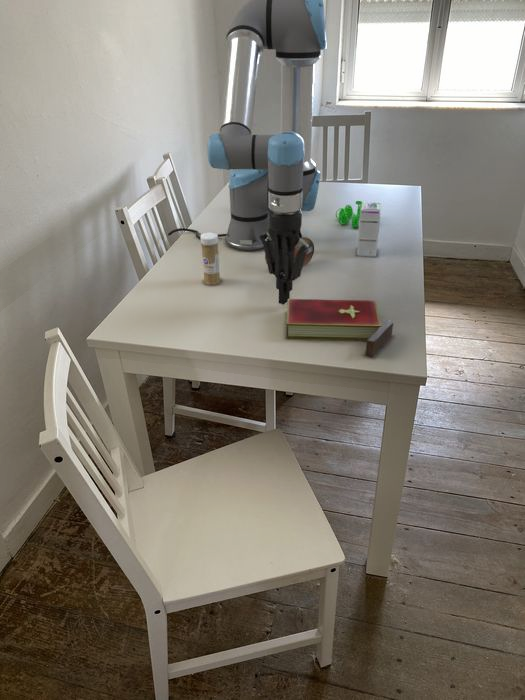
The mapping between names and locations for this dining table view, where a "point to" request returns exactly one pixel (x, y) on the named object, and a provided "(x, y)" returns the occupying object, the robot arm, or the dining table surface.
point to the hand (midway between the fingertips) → (284, 301)
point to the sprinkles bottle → (210, 258)
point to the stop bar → (379, 338)
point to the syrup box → (368, 229)
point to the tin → (308, 254)
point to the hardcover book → (331, 319)
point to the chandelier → (349, 215)
